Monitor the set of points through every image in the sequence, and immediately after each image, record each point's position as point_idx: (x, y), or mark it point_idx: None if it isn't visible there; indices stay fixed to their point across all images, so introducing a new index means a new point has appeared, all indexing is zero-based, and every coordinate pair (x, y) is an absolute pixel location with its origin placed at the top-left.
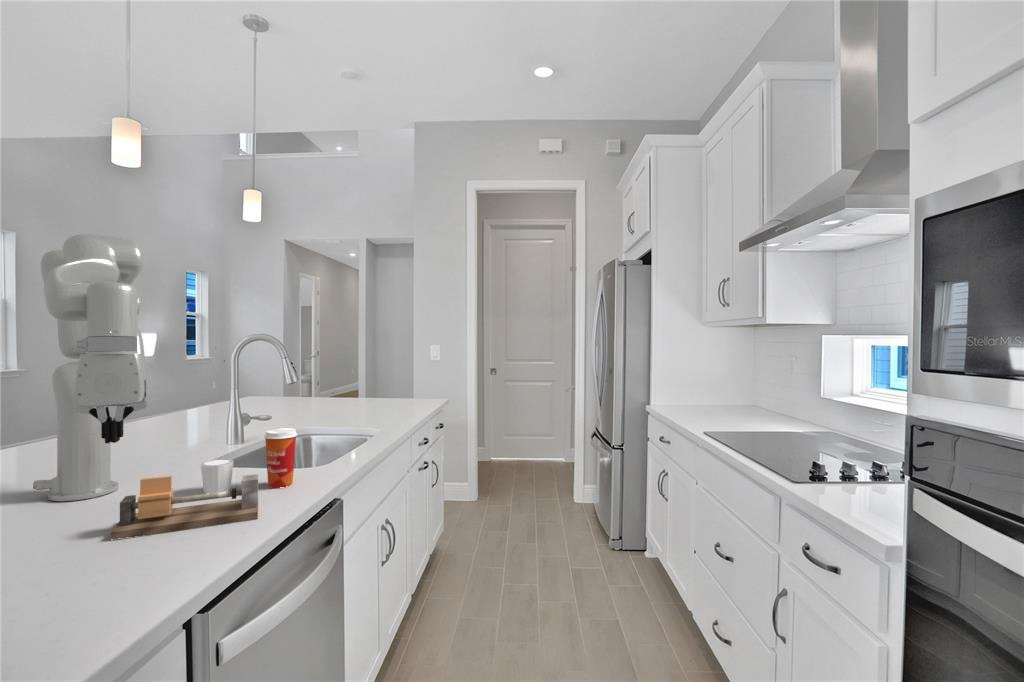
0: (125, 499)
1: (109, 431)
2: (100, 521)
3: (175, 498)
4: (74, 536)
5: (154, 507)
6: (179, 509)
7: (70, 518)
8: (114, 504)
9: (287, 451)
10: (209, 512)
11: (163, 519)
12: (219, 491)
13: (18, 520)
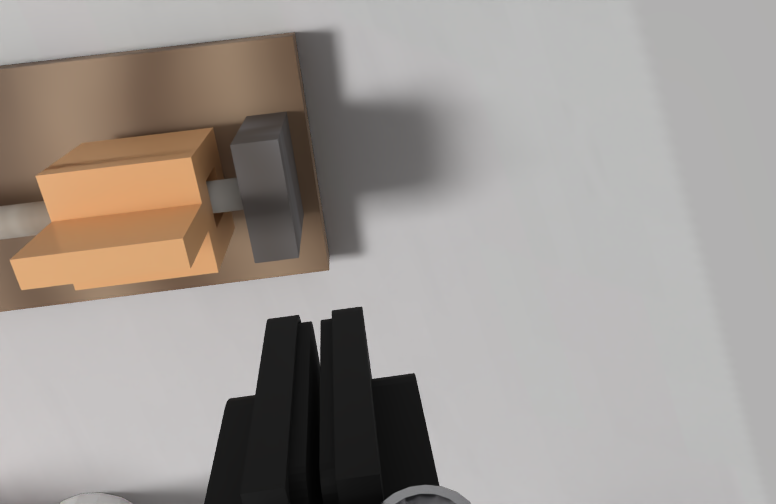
0: (274, 197)
1: (324, 393)
2: (426, 290)
3: None
4: (462, 143)
5: (132, 148)
6: None
7: (546, 354)
8: (444, 463)
9: None
10: None
11: None
12: (70, 502)
13: (706, 381)
